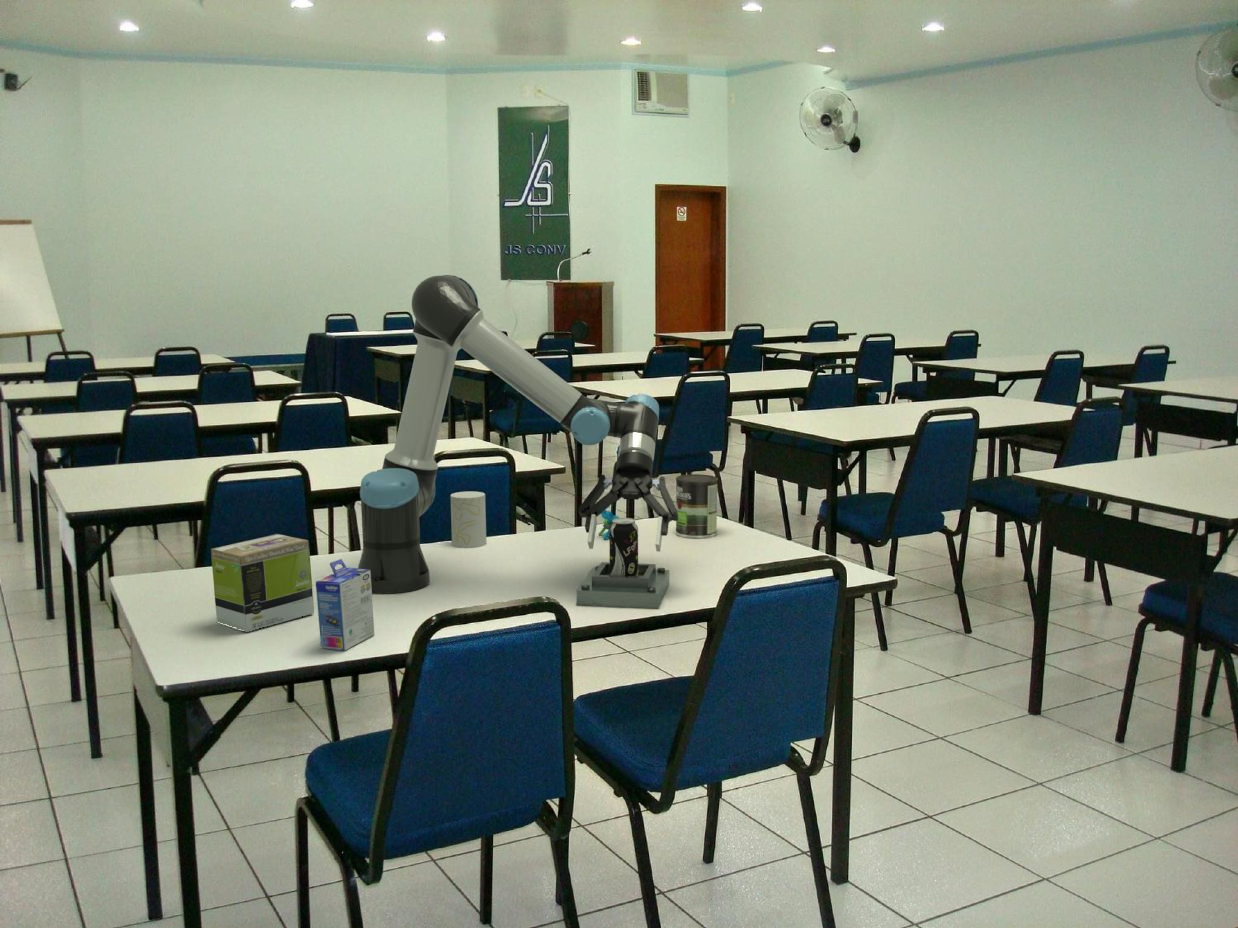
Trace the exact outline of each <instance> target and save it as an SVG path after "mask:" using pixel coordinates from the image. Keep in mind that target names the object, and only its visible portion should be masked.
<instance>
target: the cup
mask: <svg viewBox="0 0 1238 928" xmlns="http://www.w3.org/2000/svg"><path fill="white" fill-rule="evenodd" d="M486 515H487V514H486V493H484V492H482V491H474V490H473V491H459V492H454V493H451V494H450V516H451V517H450V518H451V519H450V520H451V524H450V525H451V545H452V547H454V548H458V549H459V548H461V549H474V548H480V547H483V546H484V547H485V546H486V545H487V517H486Z"/></svg>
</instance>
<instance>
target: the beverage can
mask: <svg viewBox="0 0 1238 928" xmlns="http://www.w3.org/2000/svg"><path fill="white" fill-rule="evenodd" d="M612 522H613V523H612V524H611V526H610V529H609V537H608V538H609V541H608V542H609V563H610V575H612V576H638V564H639V527H638V525H637V523H636V519H634V518H631V517H619V518H616V519H613V520H612Z"/></svg>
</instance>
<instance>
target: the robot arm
mask: <svg viewBox="0 0 1238 928" xmlns="http://www.w3.org/2000/svg"><path fill="white" fill-rule="evenodd" d="M411 310H412V313H413V316H414V318H415V319H414V320H415V321H414V325H413V329H412V333H413V335H414V337H415V338H416V340H417V345H416V348H415V349H416V350H415V353H414V357H413V363H412V366H411V367H412V368H411V372H410V375H409V376H410V377H409V381H408V386H407V389H406V394H405V398H404V402H403V403H404V404H403V406H402V412H401V416H400V420H399V425H398V431H397V434H396V438H395V439H396V440H395V442H394V448H393V449H392V450H390V451H389V452H387V453H386V454H385V455H384V460H383V463H382V469H378V470H376V471H371V472H369V473H366V474H365V475H364V476H363V477H362V479H361V482H360V489H359V497H360V508H361V509H360V510H361V511H360V512H361V528H362V529H361V530H362V531H361V532H362V553H361V556H360V560H359V563H358V566H357V568H359V569H369V570H370V573H371V588H372V594H373V593H375V594H398V593H405V592H412V591H416V590H419V589H422V588H424V587H427V586H428V585H429V584H430V583H431V577H430V575H431V574H430V573H431V572H430V569H429V566H428V564H427V561H426V559H425V555H424V553H423V550H422V548H421V538H420V537H421V532H420V531H421V530H420V517H421V516H423V515H424V514H425V513H426V512H427V511H428V510H429V509H430V507H431V506H432V504H433V503H434V500H435V496H436V478H437V473H438V469H439V465H438V463H437V462H436V460H435V457H434V455H435V451H436V448H437V443H438V437H439V434H440V428H441V424H442V420H443V415H444V412H445V408H446V403H447V399H448V394H449V391H450V386H451V382H452V378H453V373H454V369H455V365H456V360H457V355H458V352H459V350H461V349H462V350H464V351H465V353H467V354H469V356H471V357H472V358H474V359H475V360H476V361H478V362H479V363H481V365H483V366H484V367H486V368H487V369H488V370H489V371H491V372H493V374H494V375H496V376H498V377H499V378H500V379H501V380H503V382H505V383H507V384H508V385H510V387H512V388H513V389H514V390H516V391H517V392H518V393H520V395H522V396H524V397H525V398H526V399H527V400H529V401H530V402H531V403H533V404H534V405H535V406H536V407H538V408H539V409H541V410H542V411H543V412H544V413H546V414H547V415H549V416H550V417H551V418H552V419H554V420H555V421H556V422H558V423H559V424H560V425H561V426H562V427H563V428H565V429H566V430H568V432H570V433H571V435H572V436H573V438H574V439H575V440H576V441H577V442H579V443H580V444H582V445H585V446H594V445H598V444H600V443H602V441H604V440H605V439H606V438H607V437H610V438H611V437H612V438H619V440H620V442H619V446H618V447H619V448H618V453H617V461H616V468H615V474H614V476H613V477H606V476H605V474H600V475H599V477H598V480H597V483H596V484H595V486H594V487H593V488H592V490H591V491H590V492H589V494H588V495H587V497H585V499H584V500H583V501H582V503H581V504H580V506H578V513H579V517H580V518H582V519H583V518H585V524H584V529H585V532H586V533H587V535H588V536H587V541H586V542H587V546H588V549H590V550H593V549H594V545H595V539H596V531H597V525H598V519H597V517H599V516H600V515H601V513H602V512H603V511H604V510H607V509H608V508H609V507H611V505H613V504H614V503H615V502H618V501H620V500H621V499H623V500H630V499H631V500H635V501H636V500H637V501H639V500H640V499H642V500H643V501H644V502H645V503H646V504H648V506H649V507H650V509H652V511H654V513H655V514H656V515H657V517H658V519H657V527H656V534H655V535H656V536H655V541H654V542H655V545H654V546H655V549H656V552H658V553H659V552H661V548H662V540H663V537H664V536H665V537H667V535H668V533H669V525H670V522H672V521H674V522H676V521H677V520H678V512H677V509H676V505H675V503H674V500H673V499H672V497H671V494H670V493H669V490H668V489H667V485H666V484H667V482H666V477H665V476H660V477H659V478H658V479H652V475H653V467H654V460H655V453H656V451H655V450H656V441H657V435H658V427H659V421H660V418H659V416H660V405H659V402H658V401H657V400H656V399H655V398H654V397H653V396H650V395H648V394H646V393H638V394H632V395H630V396H628V398H627V399H626V401H625V402H617V401H608V400H602V399H596V398H589V397H586V396H585V395H583V393H581V392H580V391H579V390H577V389H576V388H575V387H573V386H572V385H571V384H570V383H568V382H567V381H566V380H564V379H563V378H562V377H561V376H559V375H558V374H557V373H555V372H554V371H553V370H552V369H550V368H549V367H547V366H546V365H545V364H544V363H543V362H541V361H540V360H539V359H538V358H536V357H534V356H533V355H532V354H531V353H530V352H528V351H527V350H526V349H524V348H523V347H522V346H520V344H519V343H517V342H515V340H513V339H512V338H510V337H509V336H508V335H506V334H505V333H504V332H502V331H501V330H500V329H498V328H497V327H496V326H495V325H494V324H492V323H491V322H490V321H488V320H487V319H486V318H485V317H484V311H483V310H482V309H481V308H480V307H479V299H478V296H477V293H476V290H475V289H474V288H473V286H472V285H471V284H470V283H469V282H468V281H466V280H465V279H463V278H462V277H458V276H456V275H451V274H442V275H434V276H433V275H432V276H430V277H427V278H426V279H424V280H423V281H421V282H420V283H419V284H418V285H417V286H416V288H415V289H414V291H413V295H412V298H411ZM610 486H612V487H611V488H610V490H609V492H607V493H606V494H605V495H604V496H603V497H602V495H603V494H604V492H605V490H607V489H608V488H609V487H610ZM653 487H655V489H656V490H657V491H659V493H660V496H661V499H662V500H663V502H664V504H665V506H666V508H667V510H666V509H665V508H664V507H663V505H662V504H661V503H660V502H659V500H658V499H656V497H654V495H653V494H652V493H651V491H650V490H651V489H652V488H653Z"/></svg>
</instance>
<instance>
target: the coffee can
mask: <svg viewBox="0 0 1238 928" xmlns="http://www.w3.org/2000/svg"><path fill="white" fill-rule="evenodd" d="M718 482H719V479H718V477H717V476H714V475H712V474H711V475H709V474H698V473H695V474H693V473H692V474H682V475H678V476H676V477H675V483H676V487H675V488H676V491H675V493H676V497H675V499H676V501H675V503H676V505H675V507H676V509H677V512H678V520H677V521H675V534H676V536H678V537H681V538H686V539H700V540H701V539H708V538H713V537H716V536H718V532H717V531H718V530H717V527H718V526H717V523H718V521H717V520H718V514H717V513H718Z"/></svg>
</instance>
